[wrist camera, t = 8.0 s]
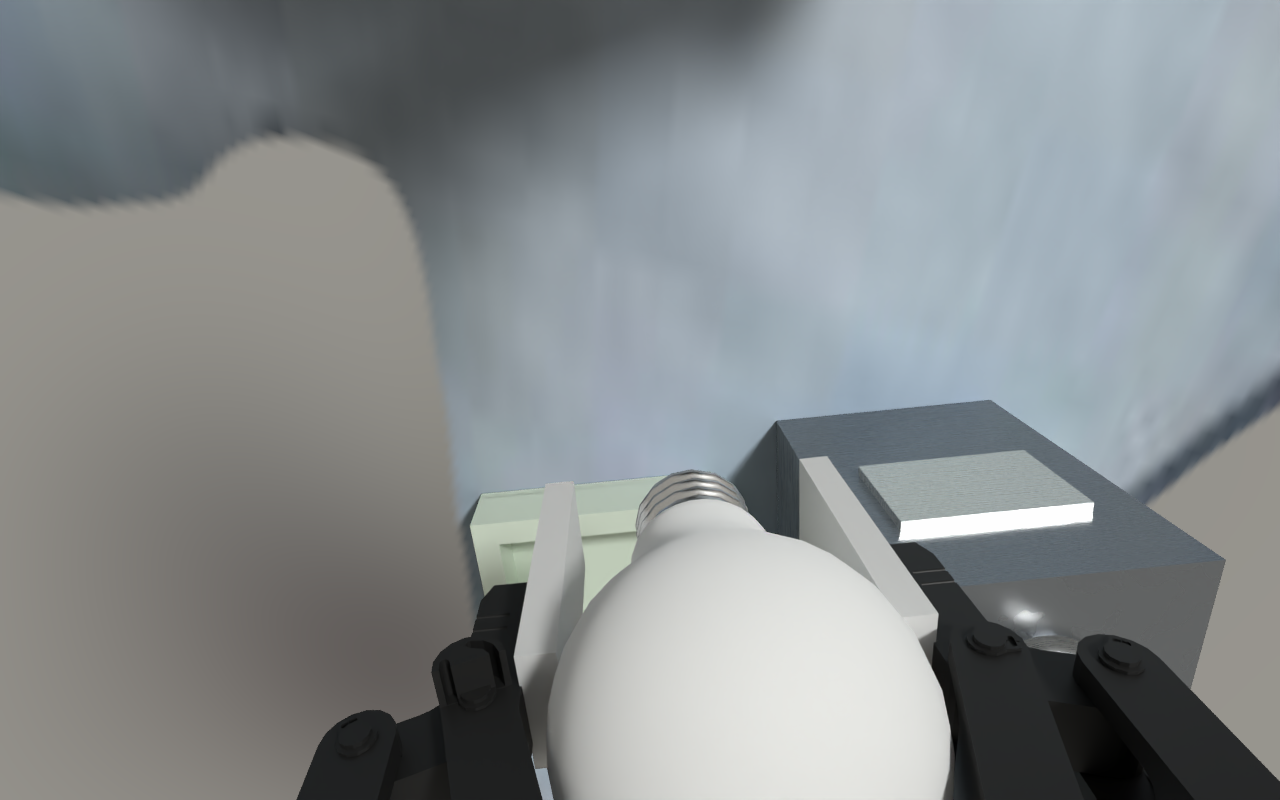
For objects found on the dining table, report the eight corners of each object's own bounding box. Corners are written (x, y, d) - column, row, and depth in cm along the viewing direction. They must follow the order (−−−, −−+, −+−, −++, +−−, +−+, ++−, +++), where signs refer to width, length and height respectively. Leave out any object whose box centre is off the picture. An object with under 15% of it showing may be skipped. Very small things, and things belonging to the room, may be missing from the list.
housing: (776, 413, 34) (907, 627, 19) (991, 392, 34) (1289, 589, 19) (778, 568, 37) (891, 852, 22) (973, 549, 37) (1215, 819, 23)
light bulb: (742, 625, 20) (887, 1120, 10) (533, 561, 19) (456, 1050, 9) (847, 438, 18) (1166, 821, 8) (620, 353, 17) (650, 674, 7)
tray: (481, 494, 35) (469, 525, 32) (710, 471, 35) (719, 501, 32) (517, 673, 39) (509, 715, 36) (720, 652, 39) (729, 693, 36)
